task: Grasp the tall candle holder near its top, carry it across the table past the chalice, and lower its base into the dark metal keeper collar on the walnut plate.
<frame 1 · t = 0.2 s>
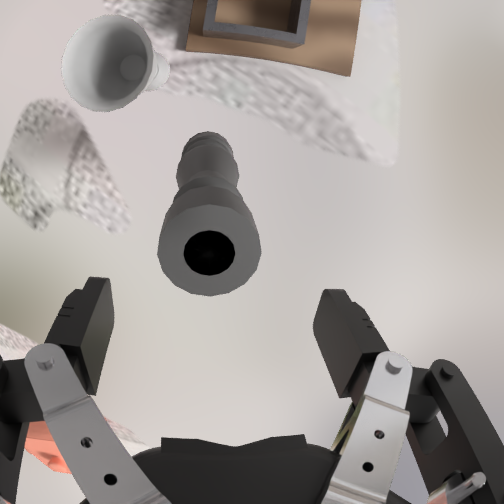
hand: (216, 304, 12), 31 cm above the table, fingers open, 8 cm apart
keeper collar: (253, 5, 30), resting on keeper plate
chalice: (149, 71, 33), on the table
keeper plate: (277, 10, 31), on the table
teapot: (78, 411, 62), on the table
candle holder: (207, 155, 39), on the table
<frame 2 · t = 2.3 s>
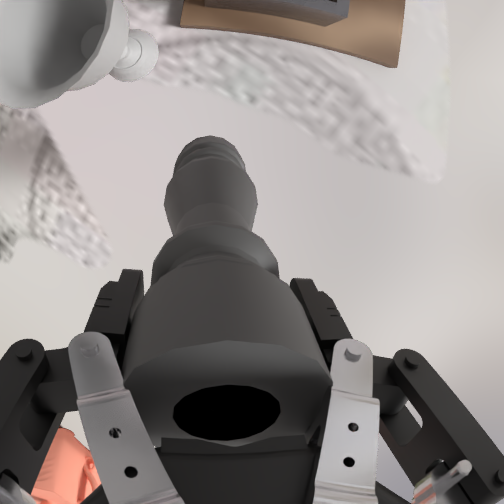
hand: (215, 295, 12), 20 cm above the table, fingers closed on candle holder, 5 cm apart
chalice: (131, 55, 23), on the table
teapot: (68, 448, 52), on the table
candle holder: (209, 167, 30), on the table, touching gripper
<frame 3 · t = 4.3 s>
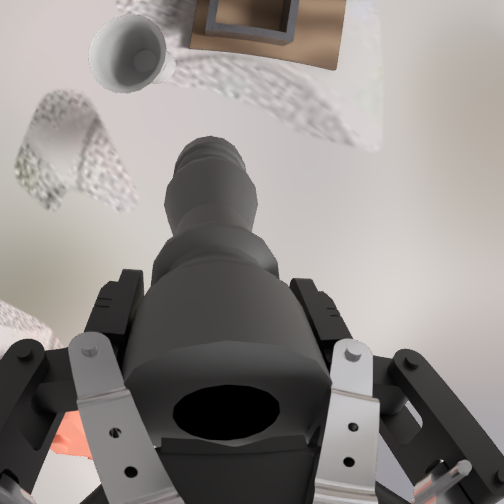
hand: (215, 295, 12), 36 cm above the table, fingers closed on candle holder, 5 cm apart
keeper collar: (249, 8, 35), resting on keeper plate
chalice: (157, 66, 37), on the table
keeper plate: (270, 12, 35), on the table
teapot: (81, 394, 66), on the table
candle holder: (209, 168, 30), point 16 cm above the table, touching gripper
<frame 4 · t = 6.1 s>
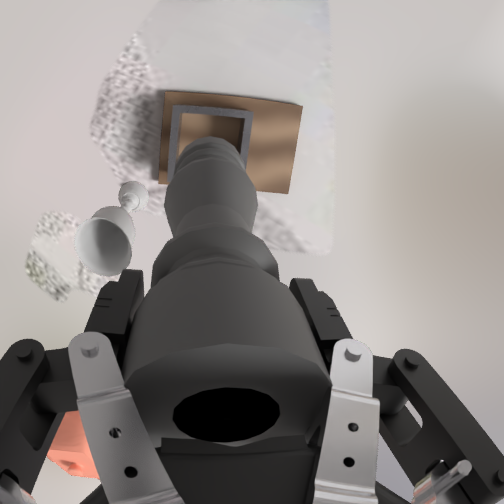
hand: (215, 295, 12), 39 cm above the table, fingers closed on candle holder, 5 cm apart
keeper collar: (208, 139, 46), resting on keeper plate
chalice: (133, 196, 49), on the table
keeper plate: (228, 141, 47), on the table
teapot: (90, 427, 76), on the table
candle holder: (209, 168, 30), point 19 cm above the table, touching gripper
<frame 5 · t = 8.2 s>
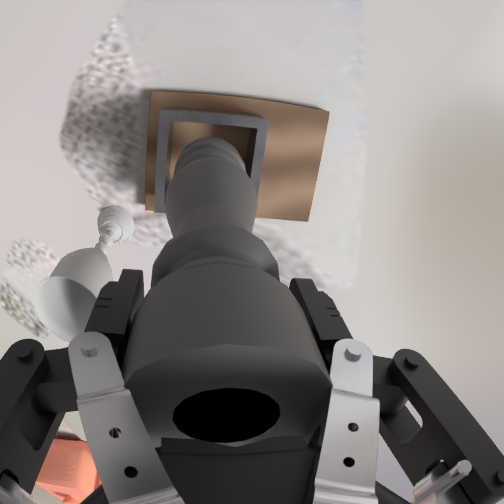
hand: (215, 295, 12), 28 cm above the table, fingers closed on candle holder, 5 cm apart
keeper collar: (208, 153, 37), resting on keeper plate
chalice: (116, 223, 39), on the table
keeper plate: (234, 155, 37), on the table
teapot: (84, 455, 67), on the table
candle holder: (209, 168, 30), point 8 cm above the table, touching gripper
when the fingers open (22 cm above the table, at t = 9.8 s): candle holder drops 1 cm, resting on keeper plate.
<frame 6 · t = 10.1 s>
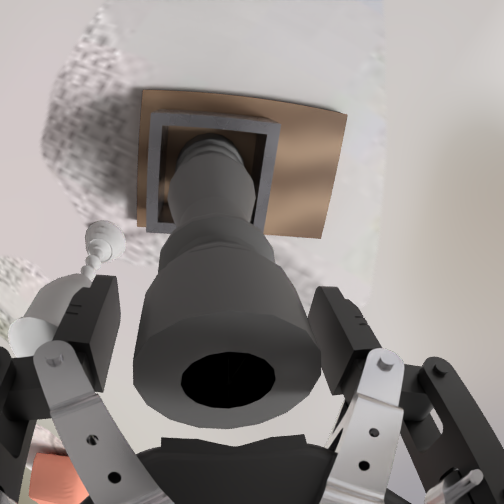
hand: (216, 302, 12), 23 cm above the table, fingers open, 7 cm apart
keeper collar: (209, 161, 32), resting on keeper plate
chalice: (105, 240, 35), on the table
keeper plate: (238, 164, 32), on the table
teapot: (82, 469, 63), on the table
candle holder: (209, 163, 31), point 1 cm above the table, touching keeper plate
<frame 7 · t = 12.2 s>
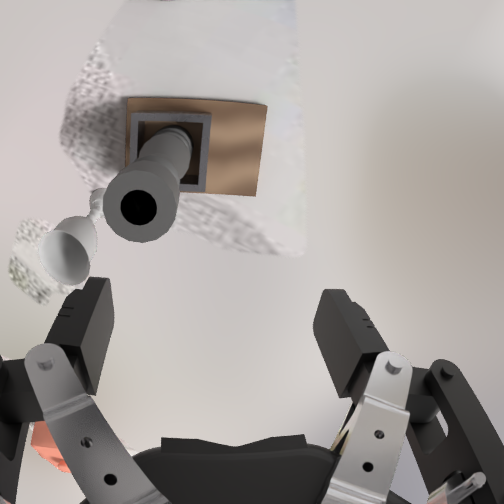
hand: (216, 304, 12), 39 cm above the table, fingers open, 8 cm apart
keeper collar: (173, 144, 46), resting on keeper plate
chalice: (103, 202, 48), on the table
keeper plate: (193, 145, 46), on the table
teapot: (80, 425, 77), on the table
candle holder: (172, 145, 44), point 1 cm above the table, touching keeper plate
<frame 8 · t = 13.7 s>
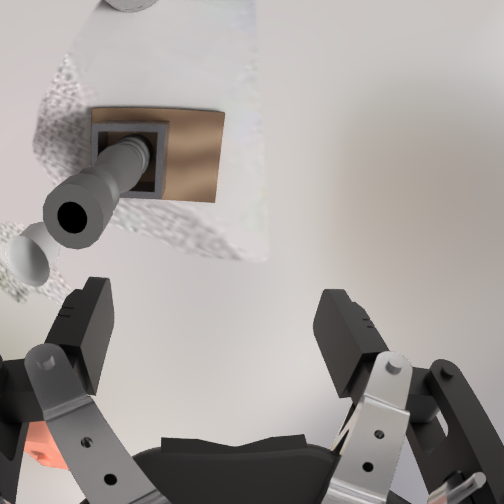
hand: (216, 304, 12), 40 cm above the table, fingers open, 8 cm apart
keeper collar: (135, 152, 46), resting on keeper plate
chalice: (73, 207, 49), on the table
keeper plate: (154, 153, 47), on the table
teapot: (61, 420, 77), on the table
candle holder: (134, 153, 45), point 1 cm above the table, touching keeper plate
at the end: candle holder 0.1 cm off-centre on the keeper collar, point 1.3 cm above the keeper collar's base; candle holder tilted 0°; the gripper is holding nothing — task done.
